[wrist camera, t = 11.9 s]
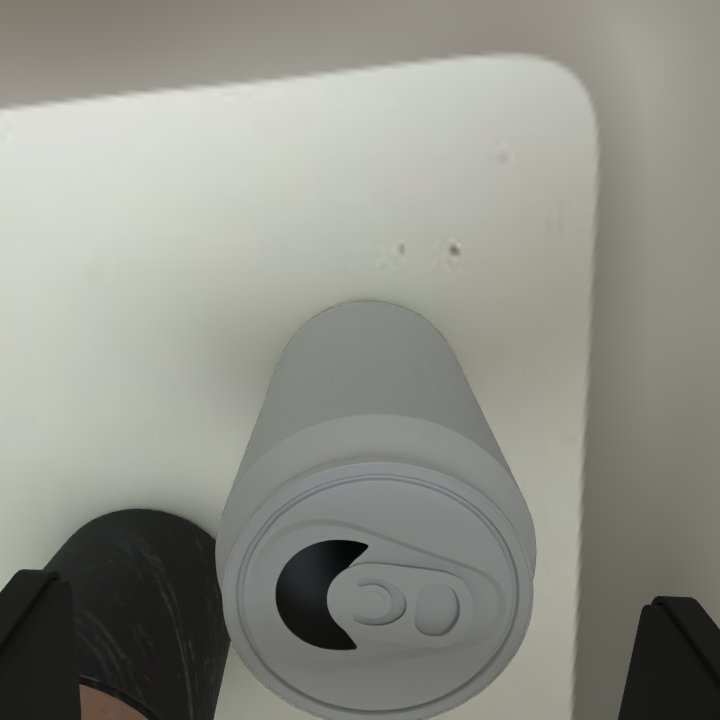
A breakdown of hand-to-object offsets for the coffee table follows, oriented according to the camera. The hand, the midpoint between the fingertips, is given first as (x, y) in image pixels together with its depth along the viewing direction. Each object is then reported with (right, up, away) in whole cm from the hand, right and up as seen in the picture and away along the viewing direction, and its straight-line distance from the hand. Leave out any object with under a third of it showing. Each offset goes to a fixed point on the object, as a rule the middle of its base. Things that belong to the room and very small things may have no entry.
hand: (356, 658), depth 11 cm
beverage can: (0, +4, +13) cm, 13 cm away
